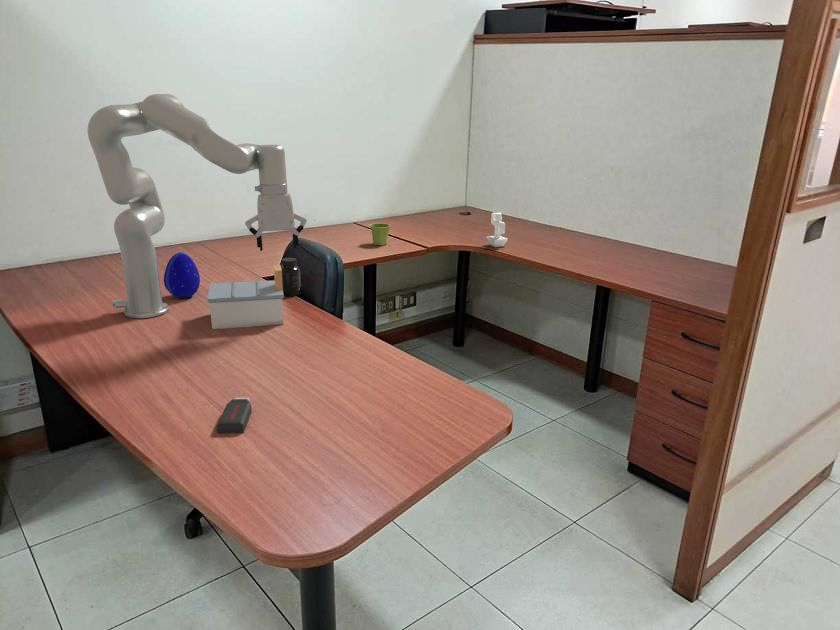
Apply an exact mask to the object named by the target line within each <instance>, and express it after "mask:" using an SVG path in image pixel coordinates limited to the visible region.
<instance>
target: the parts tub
mask: <svg viewBox="0 0 840 630" xmlns="http://www.w3.org/2000/svg"><path fill="white" fill-rule="evenodd" d="M209 309H210V319H211V320H210V321H211V329H212V330H219V329H220V330H221V329H237V328H248V327H249V328H252V327H262V326H266V327H267V326H276V325H277V326H278V325H284V310H283V298H277V299H259V300H242V301H225V302H209Z"/></svg>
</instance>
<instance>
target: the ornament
mask: <svg viewBox="0 0 840 630" xmlns="http://www.w3.org/2000/svg"><path fill="white" fill-rule="evenodd" d="M163 284H164V288H165V289H166V290H167V292H169V294H170V295H172V296H174V297H177V298H180V299H183V298H184V299H185V298H190V297H192V296H194V295H195V294H196V293H197V291H198V290H199V287H200V284H201V275H200V273H199V269H198V268H197V264H196V263H195V261H193V259H192V258H191V257H190V256H189V254H187V253H185V252H181V251H180V252H177V253H174V255H172V256H171V257H170V259H169V260H168V262H167V263H166V266H165V270H164V275H163Z"/></svg>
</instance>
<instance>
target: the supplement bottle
mask: <svg viewBox="0 0 840 630" xmlns="http://www.w3.org/2000/svg"><path fill="white" fill-rule="evenodd" d="M297 265H298V263H297V258H294V257H285V258H282V259H281V270H282V285H283V294H284V297H296V296H299V295H300V294H299V291H300V287H301V269H300V267H298V266H297Z"/></svg>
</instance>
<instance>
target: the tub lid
mask: <svg viewBox="0 0 840 630" xmlns="http://www.w3.org/2000/svg"><path fill="white" fill-rule="evenodd" d="M281 267H282V264H278V265H276V264H275V265H273V273H274V275H273V277H274V279H273V280H259V279H256V280H255V281H238V282H237V281H235V280H233V281H232V282H217V283H216V282H215V283H209V288H208V294H207V298H206V299H207V303H210V302H225V301H242V300H259V299H277V298H282V299H284V298H285V296H284V294H283V285H282V270H281Z"/></svg>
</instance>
